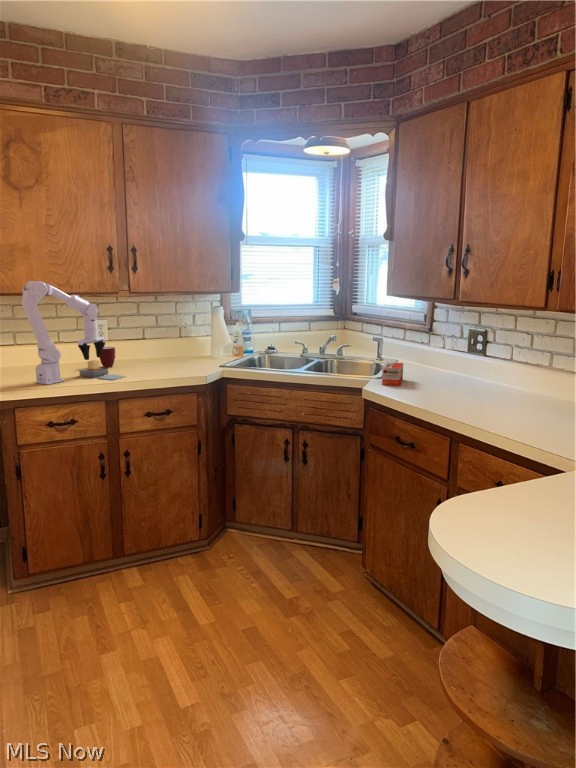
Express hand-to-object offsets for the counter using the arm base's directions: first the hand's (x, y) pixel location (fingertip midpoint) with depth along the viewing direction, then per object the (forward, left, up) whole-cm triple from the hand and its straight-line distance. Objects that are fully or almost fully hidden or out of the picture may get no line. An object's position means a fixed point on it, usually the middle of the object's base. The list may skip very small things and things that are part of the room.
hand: (93, 358), depth 256 cm
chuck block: (0, 0, -8) cm, 8 cm away
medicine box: (+48, -129, -9) cm, 138 cm away
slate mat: (0, -11, -8) cm, 14 cm away
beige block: (0, 0, -8) cm, 8 cm away
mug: (+21, +11, -8) cm, 25 cm away
